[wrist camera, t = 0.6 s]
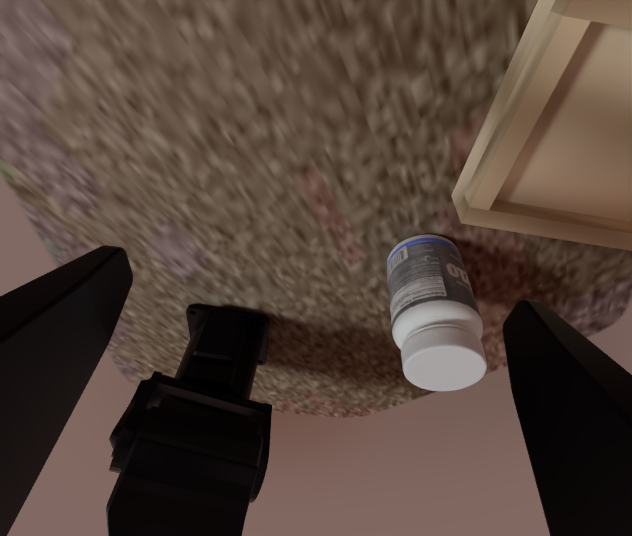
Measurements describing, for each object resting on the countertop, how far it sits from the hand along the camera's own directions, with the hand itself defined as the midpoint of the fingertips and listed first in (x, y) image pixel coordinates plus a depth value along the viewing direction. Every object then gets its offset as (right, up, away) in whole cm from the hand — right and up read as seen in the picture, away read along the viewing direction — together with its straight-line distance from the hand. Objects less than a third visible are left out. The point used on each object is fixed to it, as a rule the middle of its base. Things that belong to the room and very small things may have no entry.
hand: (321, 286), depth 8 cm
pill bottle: (+7, +1, +16) cm, 18 cm away
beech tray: (+13, +7, +9) cm, 18 cm away
